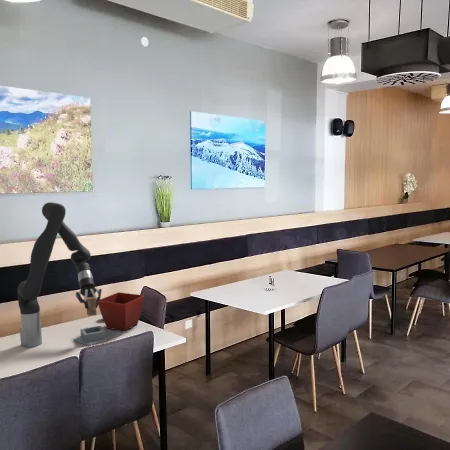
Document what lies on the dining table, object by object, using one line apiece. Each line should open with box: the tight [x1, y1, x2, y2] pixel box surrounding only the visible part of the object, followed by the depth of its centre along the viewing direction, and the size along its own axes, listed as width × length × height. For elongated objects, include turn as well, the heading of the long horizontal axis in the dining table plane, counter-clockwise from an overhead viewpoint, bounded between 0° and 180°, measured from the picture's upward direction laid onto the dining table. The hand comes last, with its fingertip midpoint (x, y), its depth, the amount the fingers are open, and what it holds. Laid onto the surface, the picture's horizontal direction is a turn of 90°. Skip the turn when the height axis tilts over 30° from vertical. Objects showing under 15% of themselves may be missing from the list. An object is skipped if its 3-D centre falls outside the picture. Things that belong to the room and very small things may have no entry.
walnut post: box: [86, 297, 97, 317], centre depth 236 cm, size 4×4×9 cm
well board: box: [73, 325, 122, 347], centre depth 240 cm, size 20×14×5 cm
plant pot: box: [98, 291, 145, 332], centre depth 257 cm, size 19×19×17 cm
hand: (92, 307), depth 235 cm, fingers closed on walnut post, 4 cm apart
